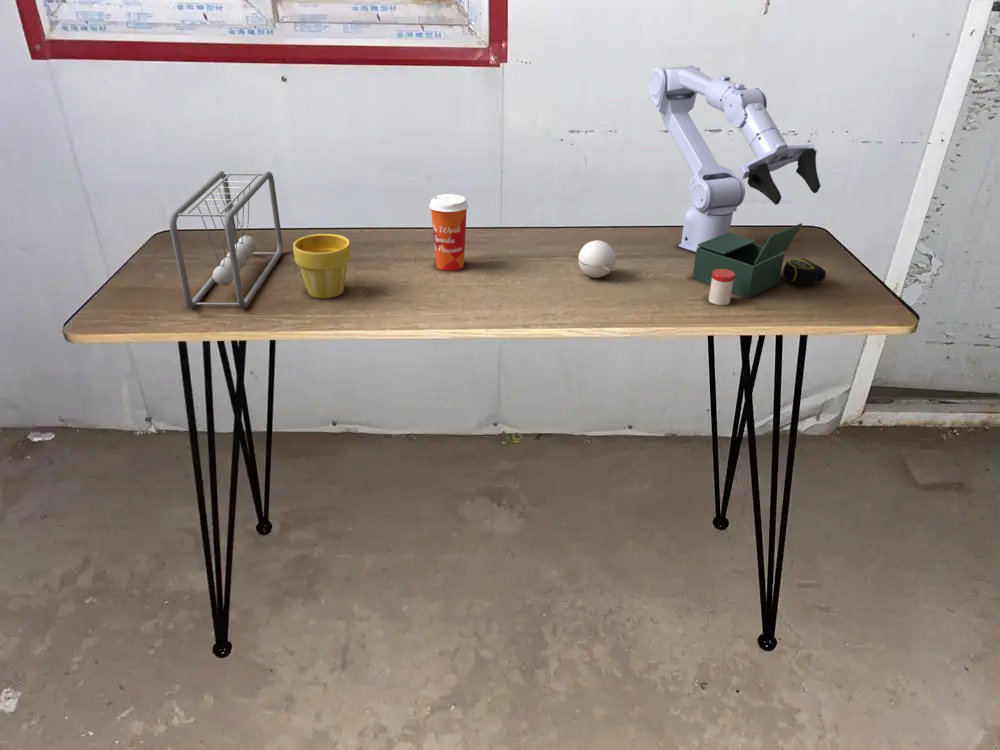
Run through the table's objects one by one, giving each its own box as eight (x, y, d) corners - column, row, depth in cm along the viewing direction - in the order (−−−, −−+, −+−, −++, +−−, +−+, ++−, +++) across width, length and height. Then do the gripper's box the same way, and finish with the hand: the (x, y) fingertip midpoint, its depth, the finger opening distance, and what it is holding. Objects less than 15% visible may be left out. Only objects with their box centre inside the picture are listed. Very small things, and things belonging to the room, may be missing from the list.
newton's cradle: (245, 312, 139) (228, 216, 130) (186, 312, 138) (166, 216, 130) (284, 251, 165) (273, 168, 156) (235, 251, 164) (221, 168, 156)
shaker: (703, 300, 146) (707, 272, 143) (716, 294, 148) (720, 267, 145) (722, 307, 143) (726, 279, 140) (734, 301, 145) (739, 273, 142)
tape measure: (825, 286, 152) (829, 268, 150) (795, 289, 150) (799, 271, 148) (803, 273, 158) (807, 255, 156) (774, 276, 156) (778, 259, 154)
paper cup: (424, 269, 157) (422, 202, 150) (441, 256, 163) (439, 191, 156) (459, 275, 154) (458, 207, 147) (475, 262, 161) (475, 196, 154)
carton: (778, 283, 153) (785, 249, 149) (747, 298, 147) (754, 262, 143) (723, 264, 161) (728, 232, 157) (692, 278, 155) (697, 244, 151)
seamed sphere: (573, 269, 158) (576, 235, 154) (609, 269, 158) (612, 234, 155) (582, 289, 149) (584, 253, 146) (620, 288, 150) (623, 252, 146)
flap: (784, 249, 149) (786, 250, 149) (753, 262, 143) (755, 263, 143) (801, 223, 145) (802, 224, 145) (770, 235, 139) (771, 236, 139)
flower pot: (363, 285, 150) (359, 236, 145) (337, 306, 141) (332, 256, 136) (317, 277, 153) (311, 230, 148) (288, 298, 144) (281, 248, 139)
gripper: (734, 135, 142) (766, 192, 137) (806, 114, 143) (842, 169, 138) (726, 161, 148) (756, 216, 143) (795, 140, 150) (828, 194, 144)
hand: (797, 195), depth 141 cm, fingers open, 7 cm apart
